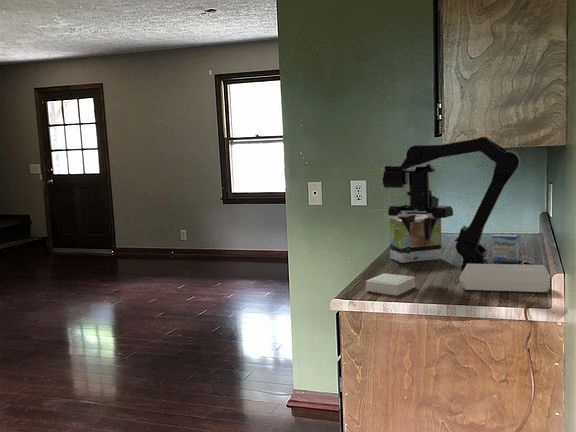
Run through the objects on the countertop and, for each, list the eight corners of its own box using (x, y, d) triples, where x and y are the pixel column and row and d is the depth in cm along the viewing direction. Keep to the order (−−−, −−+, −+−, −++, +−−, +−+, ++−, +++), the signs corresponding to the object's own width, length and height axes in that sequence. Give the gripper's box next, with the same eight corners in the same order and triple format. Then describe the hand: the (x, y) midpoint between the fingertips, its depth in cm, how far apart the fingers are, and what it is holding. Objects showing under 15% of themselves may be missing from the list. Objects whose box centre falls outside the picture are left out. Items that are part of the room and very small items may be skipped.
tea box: (402, 264, 201) (401, 220, 199) (389, 258, 211) (388, 217, 209) (442, 259, 205) (441, 216, 203) (428, 254, 215) (427, 213, 213)
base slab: (415, 287, 171) (414, 276, 171) (397, 295, 163) (396, 284, 163) (384, 283, 177) (384, 272, 177) (366, 291, 170) (365, 280, 169)
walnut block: (431, 243, 179) (430, 220, 178) (424, 246, 176) (423, 223, 175) (417, 242, 182) (416, 220, 181) (410, 245, 179) (409, 222, 178)
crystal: (457, 279, 162) (554, 282, 154) (458, 261, 167) (552, 263, 159) (459, 298, 166) (553, 302, 158) (460, 280, 172) (551, 283, 163)
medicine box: (491, 261, 197) (491, 236, 196) (494, 259, 201) (493, 233, 199) (517, 263, 193) (517, 236, 192) (519, 260, 197) (518, 234, 196)
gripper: (460, 185, 177) (461, 237, 179) (404, 184, 189) (406, 233, 191) (443, 189, 168) (445, 243, 170) (386, 188, 180) (388, 239, 182)
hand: (420, 239), depth 179 cm, fingers closed on walnut block, 4 cm apart
